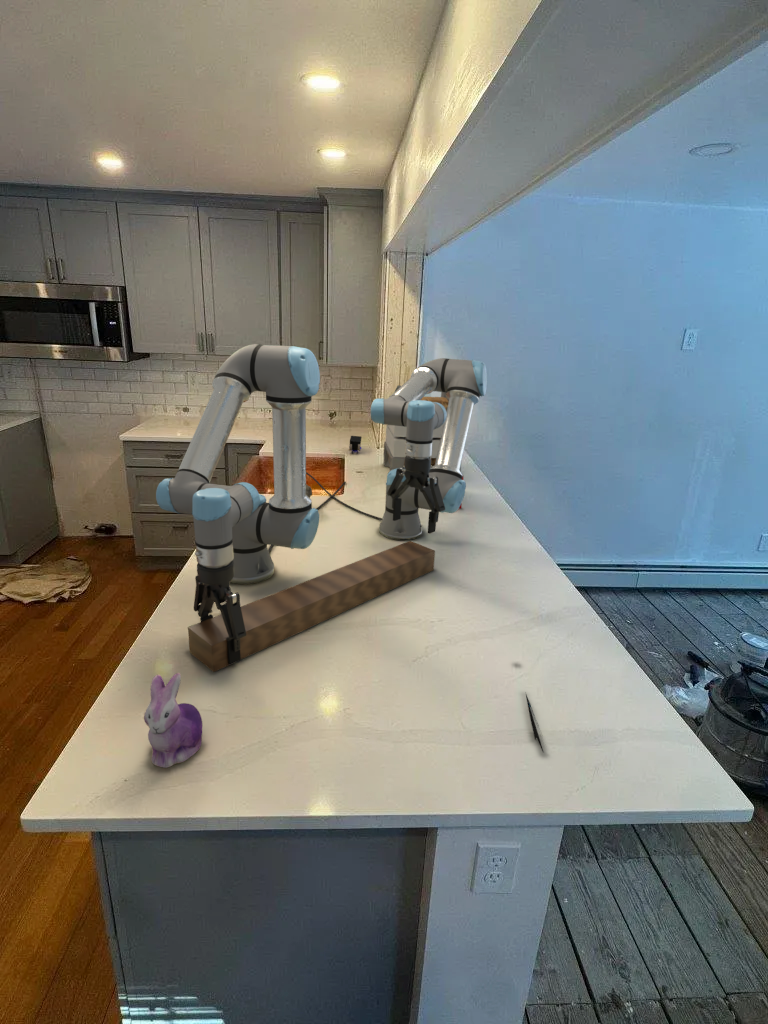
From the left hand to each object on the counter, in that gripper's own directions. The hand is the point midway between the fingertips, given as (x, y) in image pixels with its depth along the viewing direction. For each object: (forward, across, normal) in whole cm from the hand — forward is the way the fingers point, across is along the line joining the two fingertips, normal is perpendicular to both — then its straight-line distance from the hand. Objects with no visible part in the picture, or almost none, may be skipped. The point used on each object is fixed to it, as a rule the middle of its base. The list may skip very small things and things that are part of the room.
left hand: (221, 651), depth 127 cm
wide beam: (+1, 0, +33) cm, 33 cm away
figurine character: (0, -118, +155) cm, 195 cm away
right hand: (-14, 0, +65) cm, 67 cm away
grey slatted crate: (0, -68, +150) cm, 165 cm away
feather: (+1, +58, +35) cm, 68 cm away
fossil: (+1, -63, +71) cm, 95 cm away
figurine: (+1, +21, -21) cm, 30 cm away
